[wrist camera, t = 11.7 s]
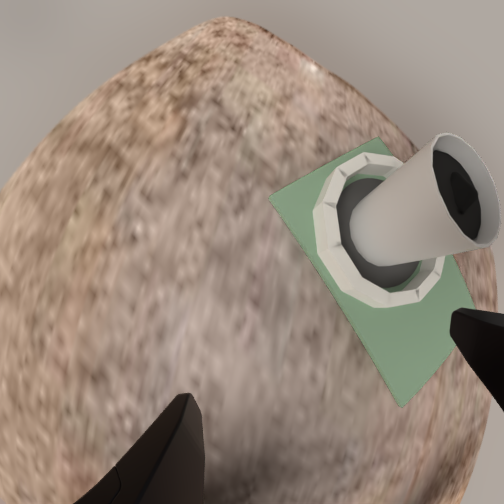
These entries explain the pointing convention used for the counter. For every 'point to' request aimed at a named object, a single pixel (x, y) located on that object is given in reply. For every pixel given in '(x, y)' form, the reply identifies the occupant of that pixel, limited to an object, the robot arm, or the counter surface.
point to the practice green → (375, 271)
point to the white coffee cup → (429, 207)
